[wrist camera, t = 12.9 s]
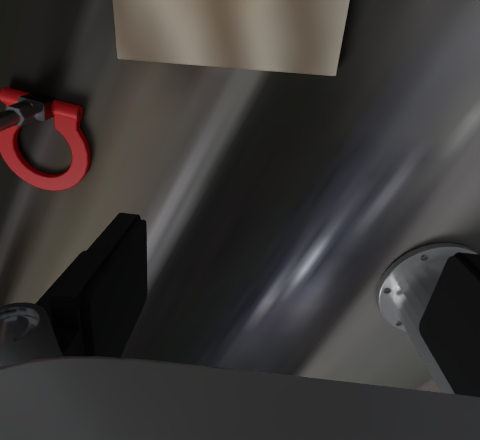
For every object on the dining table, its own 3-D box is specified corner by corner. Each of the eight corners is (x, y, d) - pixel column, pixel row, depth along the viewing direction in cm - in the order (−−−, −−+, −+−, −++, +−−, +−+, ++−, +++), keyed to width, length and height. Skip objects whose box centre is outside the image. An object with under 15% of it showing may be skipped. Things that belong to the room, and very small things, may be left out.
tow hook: (91, 194, 36) (94, 106, 31) (19, 272, 25) (7, 153, 20) (8, 175, 35) (-2, 81, 31) (-106, 247, 24) (-147, 116, 19)
